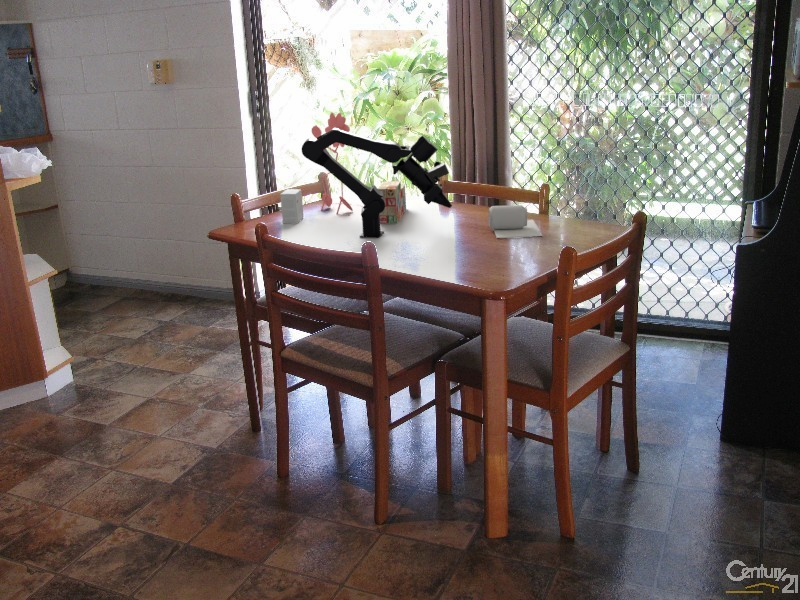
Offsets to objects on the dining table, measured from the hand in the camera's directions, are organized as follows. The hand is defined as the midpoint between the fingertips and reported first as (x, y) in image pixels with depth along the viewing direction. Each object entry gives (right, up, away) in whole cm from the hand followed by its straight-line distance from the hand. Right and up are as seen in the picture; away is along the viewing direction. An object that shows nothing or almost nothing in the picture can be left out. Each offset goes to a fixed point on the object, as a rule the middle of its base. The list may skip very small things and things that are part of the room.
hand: (451, 206), depth 257 cm
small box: (-54, -2, +27) cm, 60 cm away
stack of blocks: (-19, -1, +27) cm, 33 cm away
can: (+12, -3, +1) cm, 13 cm away
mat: (+21, -7, +2) cm, 22 cm away
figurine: (-37, +4, +41) cm, 55 cm away
